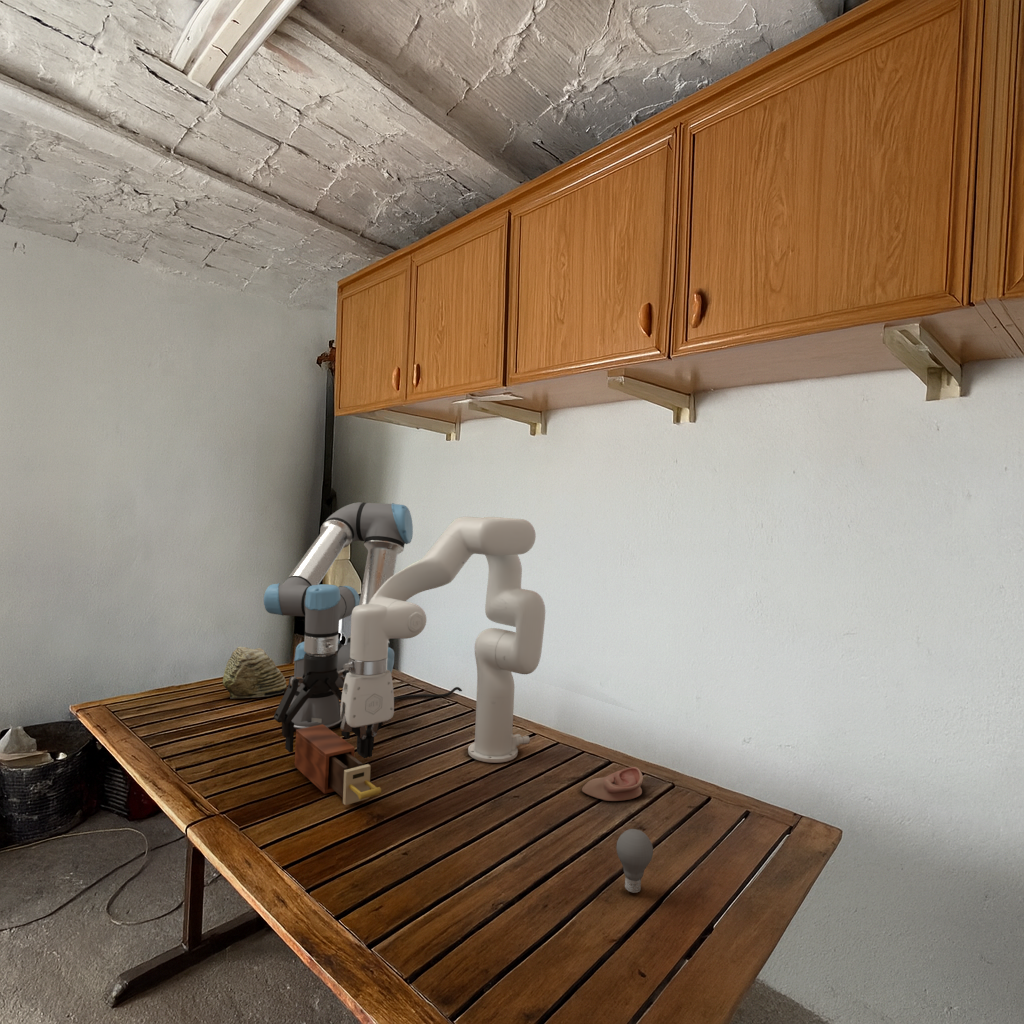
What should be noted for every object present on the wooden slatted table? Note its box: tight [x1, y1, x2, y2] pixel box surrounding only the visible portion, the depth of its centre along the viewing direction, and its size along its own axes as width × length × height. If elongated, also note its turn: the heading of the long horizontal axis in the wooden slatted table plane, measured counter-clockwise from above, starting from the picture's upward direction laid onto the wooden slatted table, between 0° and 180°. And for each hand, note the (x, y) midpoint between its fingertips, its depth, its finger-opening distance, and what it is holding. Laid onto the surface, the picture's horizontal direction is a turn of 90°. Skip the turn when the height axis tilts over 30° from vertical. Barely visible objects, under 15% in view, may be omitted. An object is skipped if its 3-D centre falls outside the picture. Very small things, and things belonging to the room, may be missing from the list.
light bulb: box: [615, 828, 654, 894], centre depth 106 cm, size 6×6×10 cm
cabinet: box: [294, 724, 356, 795], centre depth 144 cm, size 17×7×9 cm, turn 40°
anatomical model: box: [581, 766, 644, 802], centre depth 142 cm, size 13×4×12 cm
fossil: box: [222, 646, 288, 699], centre depth 198 cm, size 9×18×15 cm, turn 132°
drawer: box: [328, 752, 382, 806], centre depth 134 cm, size 22×5×7 cm, turn 40°
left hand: (318, 743), depth 147 cm, fingers open, 13 cm apart
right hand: (364, 755), depth 129 cm, fingers closed
